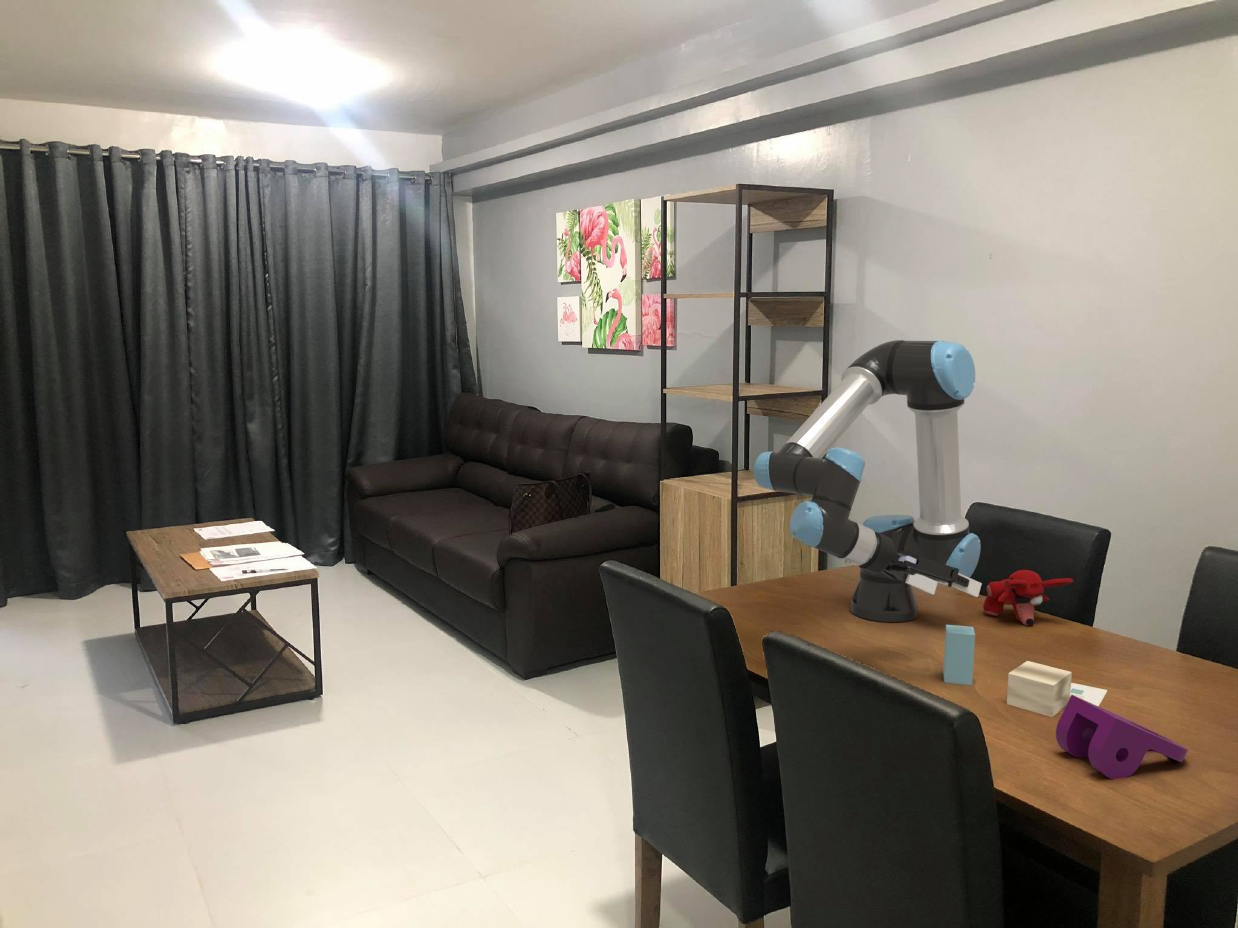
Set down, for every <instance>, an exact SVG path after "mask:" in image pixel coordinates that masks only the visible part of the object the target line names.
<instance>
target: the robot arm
mask: <svg viewBox="0 0 1238 928" xmlns="http://www.w3.org/2000/svg"><path fill="white" fill-rule="evenodd" d="M974 362H975V361H974V359H973V357H972V354H971V353H970V351H969V350H968V349H967V347H965V346H964V345H963V344H961V343H958V342H949V341H944V340H899V339H898V340H896V339H895V340H890V341H887V342H884V343H881V344H879V345H877V346H874V347H873V348H871V349H869V350H868V351H866V352H865V353H863V354H862V355H860V356H859V357H858V358H857V359H855V360H854V361H853V362H852V363H851V364H850V365H849V366H848V367H847V368H846V369H845V370H844V372H843V373H842V374H841V378H840V383H839V384H838V385H837V386H836V387H835V388H834V389H833V390H832V391H831V393H829V394H828V396H827V397H826V398H825V399H824V400H823V401H822V402H821V404H820V405H818V407H817V408H816V409H815V410H814V411H813V413H812V414H811V415H810V416H809V417H808V418H807V419H806V420H805V421H804V422H803V423H802V424H801V425H800V427H799V428H798V429H797V430H795V432H794V433H793V435H792V436H791V437H790V438H789V439H788V440H787V441H786V442H785V444H784V445H783V446H781V448H780V449H779V450H778V451H773V450H772V451H771V450H770V451H764V452H762V453H760V454H759V455H758V456H757V457H756V460H755V462H754V465H753V478H754V479H755V482H756V484H757V485H758V486H760V487H761V488H763V489H766V490H770V491H774V492H780V493H781V492H783V493H787V494H788V493H789V494H796V495H803V496H808V497H811V501H809V500H804V501H802V502H801V503H799V504H798V505H797V506H796V507H795V509H794V512H793V513H792V514H791V517H790V521H789V532H790V534H791V536H792V537H793V538H794V539H797V540H798V541H800V542H802V543H804V544H805V545H807V546H808V547H809V548H810V547H811V548H814V549H817V550H819V551H822V552H824V553H826V554H828V555H830V556H833V557H836V558H838V559H840V560H844V564H845V565H847V566H849V565H850V564H852V565H854V566H855V567H858V568H859V579H858V582H857V584H856V587H855V589H854V592H853V595H852V598H851V601H850V612H851V613H852V614H853V615H855V616H857V617H859V618H862V619H864V620H869V621H874V622H875V621H876V622H882V623H903V622H904V623H905V622H908V621H911V620H914V619H916V618H917V617H918V603H917V600H916V599H917V598H916V596H915V593H914V589H913V588H917V589H918V590H920V591H923V592H925V593H927V594H929V595H932V596H934V595H935V593H936V590H937V586H938V583H939V582H941V583H942V584H947V586H948V588H955V589H956V590H960V591H961V592H964V593H966V594H968V595H970V596H972V597H975V598H978V597H979V594H980V591H981V587H982V582H980V581H977V580H975V579H973V578H971V577H972V575H973V574H974V571H975V569H976V568H977V565H978V563H979V559H980V555H981V549H982V548H981V547H982V546H981V540H980V538H979V536H978V535H977V534H975V533H973V532H971V533H970V525H969V524H970V523H969V520H968V519H967V518H965V517H964V516H963V515H962V503H961V479H960V477H961V476H960V475H961V474H960V453H959V452H960V449H959V448H960V447H959V423H958V421H959V420H958V419H959V418H958V411H959V410H960V409H961V408H962V407H963V406H964V405H965V399H967V398H968V397H970V396H971V394H972V393H973V390H974V388H975V386H974V383H975V382H976V368H975V367H976V366H975V363H974ZM888 395H899V396H901V395H902V396H906V403H907V408H908V409H909V410H910V411H911V412H913V414H914V416H915V417H914V419H915V423H914V424H915V437H916V439H915V441H916V458H917V461H916V463H917V480H918V501H919V517H917V519H915V518H914V516H912V515H909V514H884V515H883V514H882V515H877V516H876V515H875V516H871V517H868V518H866V519H864V520H863V522H862V523H861V524H860V523H858V522H856V521H853V520H851V519H849V517H850V514H851V511H852V508H853V505H854V502H855V499H856V496H857V493H858V489H859V487H860V484H861V482H862V478H863V473H864V470H865V465H866V462H865V459H864V458H863V456H861V454H858V452H855V451H853V450H850V449H847V448H844V447H833V446H834V445H835V444H836V443H837V442H838V440H839V439H840V438H841V437H842V435H843V434H844V433H846V431H847V430H848V429H849V428H850V427H851V425H852V424H853V423H854V422H855V421H856V420H857V418H859V416H860V415H861V414H862V413H863V412H864V411H865V410H866V409H867V407H868V406H869V405H874V404H876V403H878V401H880V399H881V398H882V397H884V396H888Z"/></svg>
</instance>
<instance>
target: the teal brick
mask: <svg viewBox="0 0 1238 928" xmlns="http://www.w3.org/2000/svg"><path fill="white" fill-rule="evenodd" d="M944 634H945V638H944V651H943V668H942V670H943V673H942V675H943V682H944V683H946V684H957V685H968V686H973V677H974V676H973V675H974V663H975V662H974V661H975V645H976V644H975V643H976V632H975V629H974V626H965V625H954V624H945V633H944Z"/></svg>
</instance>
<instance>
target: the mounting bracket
mask: <svg viewBox="0 0 1238 928" xmlns="http://www.w3.org/2000/svg"><path fill="white" fill-rule="evenodd" d="M1055 728H1056V729H1055V738H1056V742H1057V744H1058V746H1059V747H1060V748H1061V749H1062V750H1064V751H1065V752H1067V753H1068V754H1070V755H1071V756H1073V757H1074V758H1077V759H1080V758H1088V761H1089V763H1090V765H1091V767H1092V768H1093V769H1095V770H1096V771H1097V772H1099V773H1101V774H1102V775H1103V776H1106V778H1108V779H1111V780H1119V779H1124V778H1125V779H1126V778H1129V777H1130V776H1132V775H1134V773H1136V772H1137V771H1138V768H1139V767H1140V765H1141V763H1142V761H1143V760H1144V757H1145V755H1146V753H1147V752H1148V751H1150V750H1152V751H1154V752H1156V753H1158V754H1161V755H1164V756H1166V757H1167V758H1170V759H1172V760H1175V761H1177V762H1180V763H1183V761H1184V759H1185V757H1186V755H1187V753H1188V752H1189V749H1187V748H1186V747H1185V746H1183V745H1181V744H1178V743H1177V742H1175V741H1173V740H1171V739H1169V738H1167V737H1165V736H1163V735H1161V734H1159V733H1157V732H1155V731H1153V730H1152V729H1149V728H1147V727H1145V726H1143V725H1141V724H1138V723H1136V722H1134V721H1132V720H1131V719H1127V718H1125V717H1123V716H1121V715H1118V714H1116V713H1114V712H1111V711H1109V710H1108V709H1105V708H1103V707H1101V706H1100V705H1099V706H1096V705H1094V704H1092V703H1090V702H1087V701H1085V700H1083V699H1081V698H1078V697H1076V696H1074V695H1071V697H1070V699H1069V701H1068V703H1067V705H1066V707H1065V708H1063V712H1062V713H1061V715H1060V717H1059V719H1058V721H1057V724H1056V727H1055Z"/></svg>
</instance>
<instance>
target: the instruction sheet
mask: <svg viewBox="0 0 1238 928" xmlns="http://www.w3.org/2000/svg"><path fill="white" fill-rule="evenodd" d="M1107 692H1108V689H1103V688H1100V687H1099V688H1098V687H1094V686H1089V685H1085V684H1080V683H1075V682H1071V692H1070V697H1071V695H1074V696H1076V697H1078V698H1081V699H1083V700H1085V701H1087V702H1090V703H1092V704H1094V705H1096V706H1099V707H1100V704H1101V703H1102V701H1103V699H1104V698H1105V696H1106V694H1107Z"/></svg>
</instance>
